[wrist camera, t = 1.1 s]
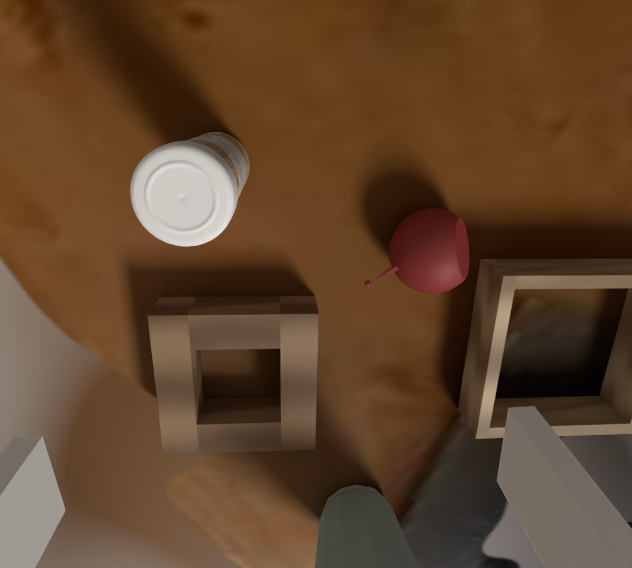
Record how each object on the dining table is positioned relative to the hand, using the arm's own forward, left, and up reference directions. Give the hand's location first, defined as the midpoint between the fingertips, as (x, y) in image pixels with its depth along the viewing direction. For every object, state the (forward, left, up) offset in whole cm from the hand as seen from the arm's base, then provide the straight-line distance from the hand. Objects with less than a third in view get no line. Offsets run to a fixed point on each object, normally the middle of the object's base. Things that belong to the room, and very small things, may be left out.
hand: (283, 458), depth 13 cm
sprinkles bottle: (-6, -4, -23) cm, 24 cm away
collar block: (+10, -3, -23) cm, 26 cm away
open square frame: (+8, +23, -23) cm, 33 cm away
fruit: (0, +10, -23) cm, 25 cm away
